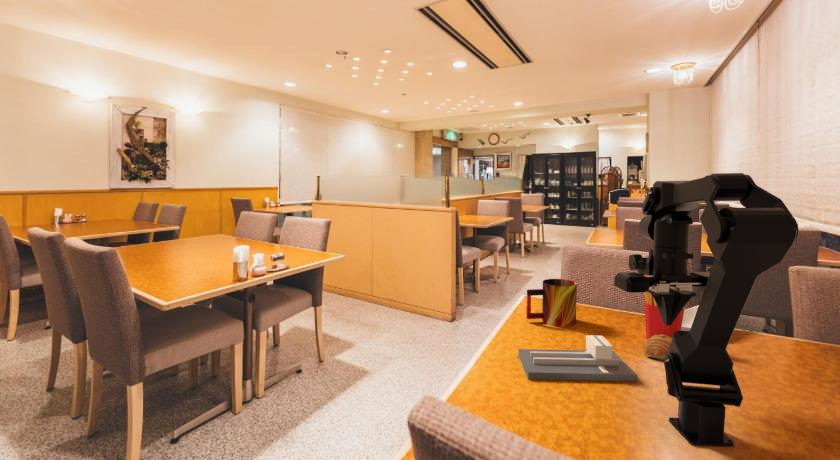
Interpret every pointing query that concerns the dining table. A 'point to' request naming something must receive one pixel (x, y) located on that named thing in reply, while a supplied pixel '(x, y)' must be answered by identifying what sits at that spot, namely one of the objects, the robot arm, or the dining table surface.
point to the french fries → (658, 319)
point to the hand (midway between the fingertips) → (667, 325)
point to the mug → (555, 302)
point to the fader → (599, 347)
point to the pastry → (657, 346)
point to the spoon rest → (688, 318)
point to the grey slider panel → (573, 366)
